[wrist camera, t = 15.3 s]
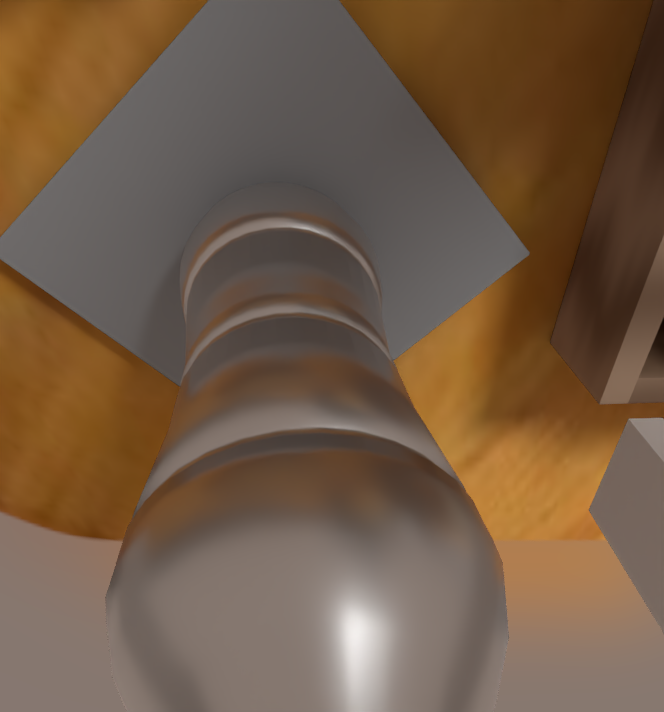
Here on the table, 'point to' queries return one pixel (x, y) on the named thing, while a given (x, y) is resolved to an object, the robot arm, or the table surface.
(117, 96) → the table surface
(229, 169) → the grey mat
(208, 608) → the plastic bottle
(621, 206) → the walnut rack
